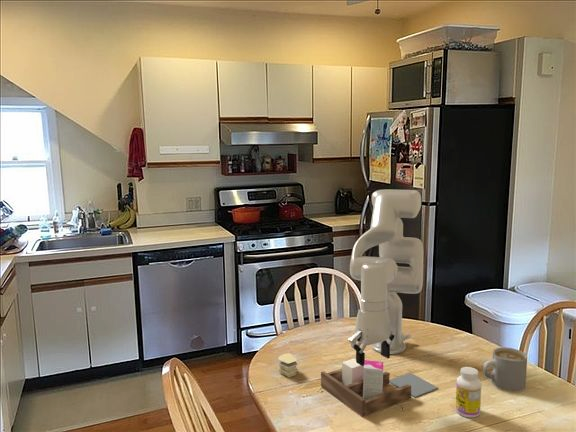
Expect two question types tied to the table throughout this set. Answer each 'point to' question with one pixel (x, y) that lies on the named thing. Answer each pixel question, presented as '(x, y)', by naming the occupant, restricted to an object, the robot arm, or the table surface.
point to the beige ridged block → (287, 365)
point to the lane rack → (352, 392)
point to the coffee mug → (507, 369)
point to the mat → (413, 384)
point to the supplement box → (372, 379)
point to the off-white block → (352, 372)
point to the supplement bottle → (468, 393)
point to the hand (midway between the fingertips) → (373, 360)
